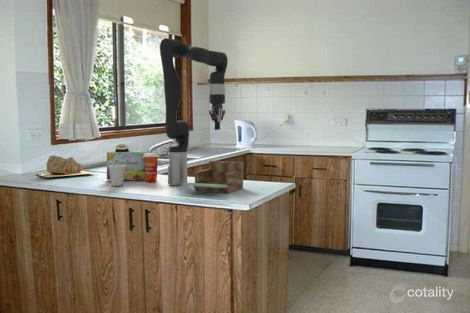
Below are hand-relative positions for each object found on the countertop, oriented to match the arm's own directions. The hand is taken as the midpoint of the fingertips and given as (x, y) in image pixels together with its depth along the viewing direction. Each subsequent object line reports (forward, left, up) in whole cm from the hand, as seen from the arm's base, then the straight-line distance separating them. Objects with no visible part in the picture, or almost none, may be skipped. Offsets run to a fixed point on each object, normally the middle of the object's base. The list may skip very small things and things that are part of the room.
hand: (217, 129), depth 243 cm
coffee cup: (-45, +9, -29) cm, 54 cm away
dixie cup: (-53, -10, -29) cm, 61 cm away
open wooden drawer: (+2, -2, -29) cm, 29 cm away
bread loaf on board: (-103, +7, -33) cm, 108 cm away
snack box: (-58, +5, -29) cm, 65 cm away
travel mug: (-67, +13, -28) cm, 74 cm away
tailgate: (+2, -11, -26) cm, 28 cm away
